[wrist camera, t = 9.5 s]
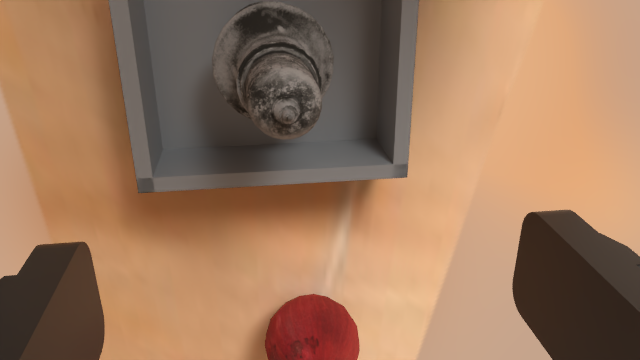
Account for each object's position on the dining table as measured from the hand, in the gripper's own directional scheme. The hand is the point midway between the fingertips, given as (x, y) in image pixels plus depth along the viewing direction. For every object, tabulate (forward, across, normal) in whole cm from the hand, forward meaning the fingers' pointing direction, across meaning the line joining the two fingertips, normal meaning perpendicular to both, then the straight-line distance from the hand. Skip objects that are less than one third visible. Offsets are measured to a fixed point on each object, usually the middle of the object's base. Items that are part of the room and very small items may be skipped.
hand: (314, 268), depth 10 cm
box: (+22, 0, 0) cm, 22 cm away
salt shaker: (+22, 0, 0) cm, 22 cm away
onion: (+22, -2, +18) cm, 29 cm away
